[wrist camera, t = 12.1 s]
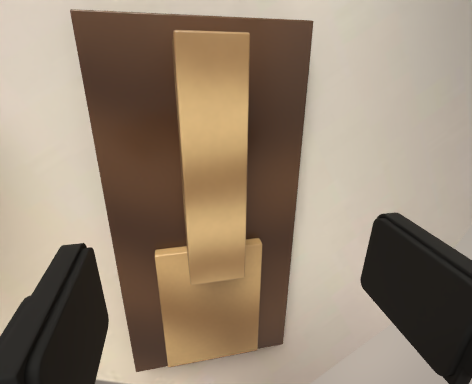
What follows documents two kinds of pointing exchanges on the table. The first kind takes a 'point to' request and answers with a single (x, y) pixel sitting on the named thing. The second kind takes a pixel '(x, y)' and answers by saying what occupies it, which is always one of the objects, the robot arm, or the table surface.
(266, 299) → the walnut board
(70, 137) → the table surface
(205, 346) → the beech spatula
